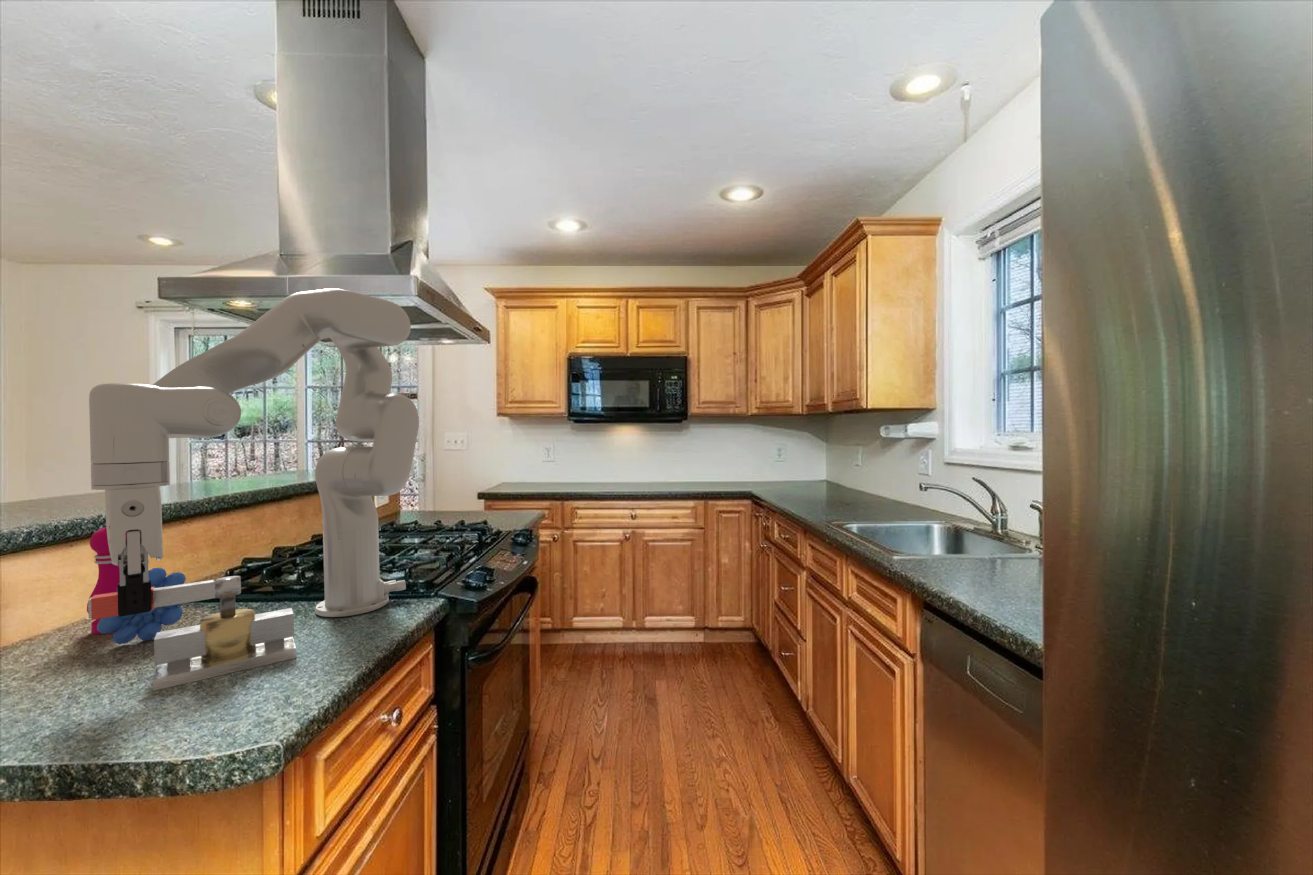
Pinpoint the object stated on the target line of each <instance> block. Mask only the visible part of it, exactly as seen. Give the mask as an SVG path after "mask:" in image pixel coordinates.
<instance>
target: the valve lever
mask: <svg viewBox="0 0 1313 875" xmlns="http://www.w3.org/2000/svg"><path fill="white" fill-rule="evenodd" d="M241 578H242V576H241V575H231V576H223V577H220V578H219V577H218V578H216V579H208V580H203V581H202V580H201V581H197V582H196V581H195V582H189V583H188V582H187V583H184V584H181V585H174V586H167V587H160V588H155V587H151V602H152V609H151V610H154V608H157V607H163V606H169V605H175V604H181V603H185V604H186V603H191V602H193V603H194V602H200V601H205V600H206V601H207V600H211V599H220V598H226V597H231V596H235V597H236V596H238V595H240V594H241V593H242V582H241V580H242V579H241ZM87 603H88V612H87V614H88V619H91V621H95V620H96V619H100V618H106V617H112V616H119V615H118V592H114V593H107V594H100V595H94V596H93V597H91V598H90V599H89V598H88V600H87Z"/></svg>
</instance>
